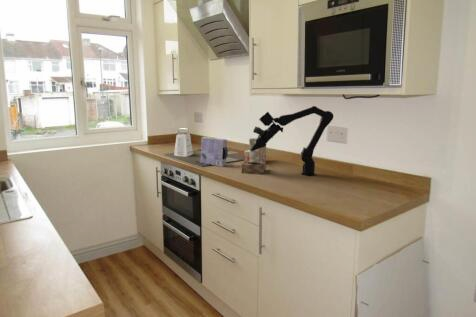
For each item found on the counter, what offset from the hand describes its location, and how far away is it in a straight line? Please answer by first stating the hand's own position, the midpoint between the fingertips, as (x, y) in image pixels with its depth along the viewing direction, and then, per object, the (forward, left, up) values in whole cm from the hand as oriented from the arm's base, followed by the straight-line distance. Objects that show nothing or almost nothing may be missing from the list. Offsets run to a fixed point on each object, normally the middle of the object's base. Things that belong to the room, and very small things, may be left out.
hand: (251, 149), depth 207 cm
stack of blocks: (+20, -21, -14) cm, 32 cm away
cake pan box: (+31, +6, -14) cm, 34 cm away
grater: (+73, +5, -14) cm, 74 cm away
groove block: (+1, -3, -13) cm, 14 cm away
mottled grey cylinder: (-1, -1, -7) cm, 7 cm away
